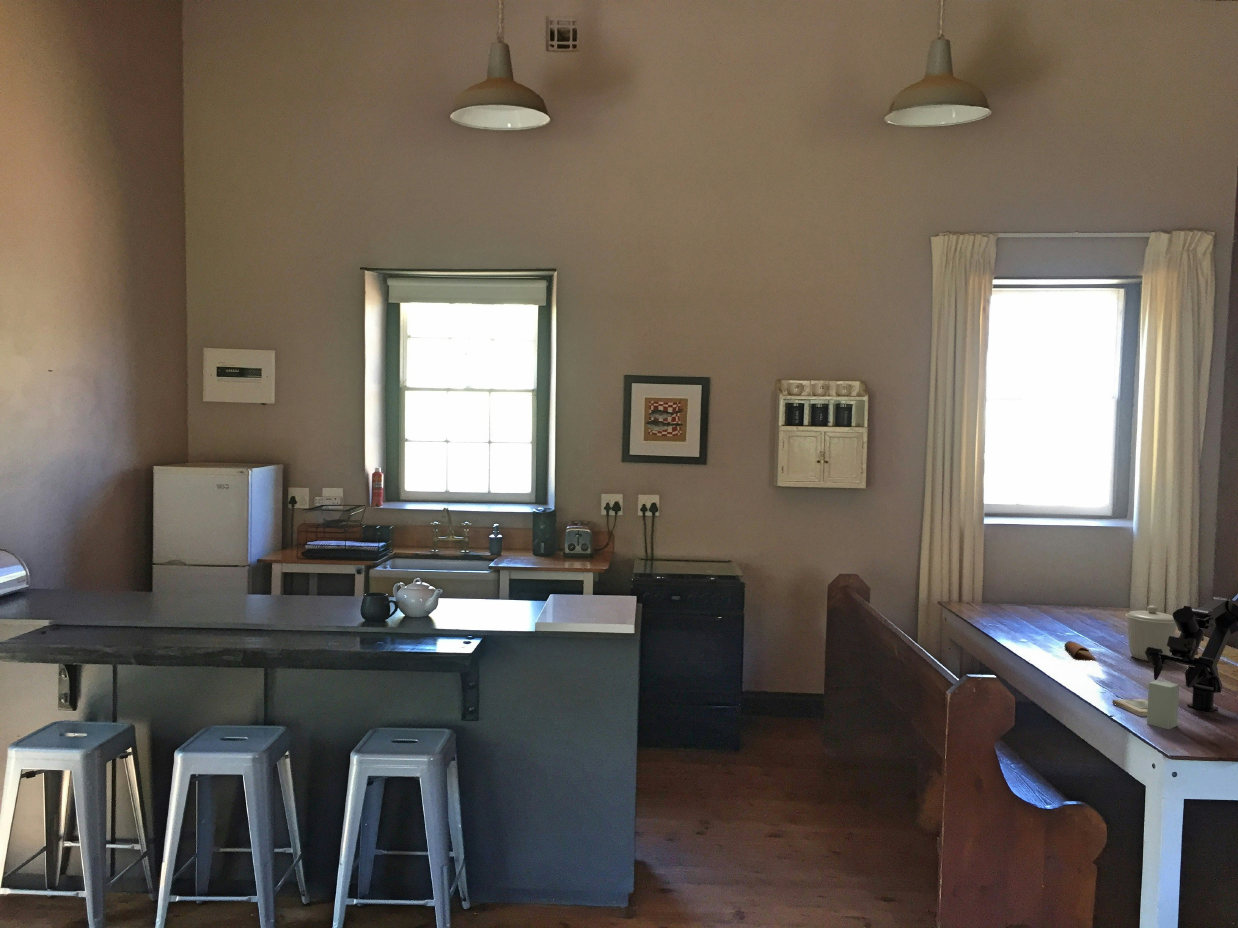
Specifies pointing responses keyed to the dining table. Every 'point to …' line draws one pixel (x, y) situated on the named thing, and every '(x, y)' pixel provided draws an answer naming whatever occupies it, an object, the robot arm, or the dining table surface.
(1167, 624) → the canister
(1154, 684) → the sage block
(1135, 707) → the birch slab
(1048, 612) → the dining table surface
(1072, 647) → the brown bread roll
